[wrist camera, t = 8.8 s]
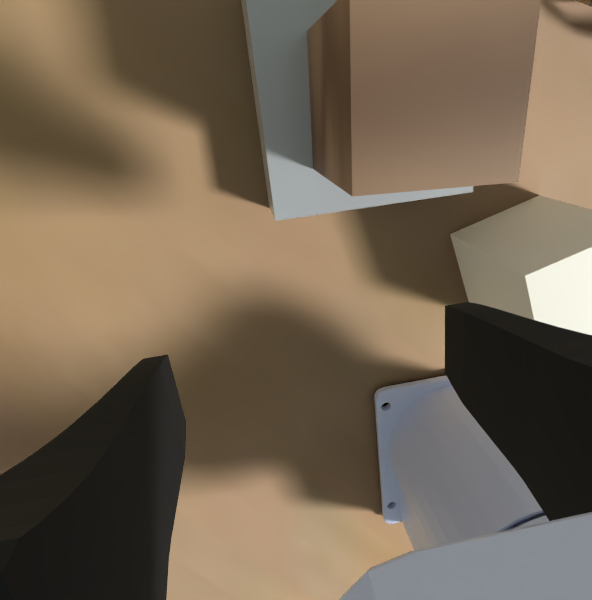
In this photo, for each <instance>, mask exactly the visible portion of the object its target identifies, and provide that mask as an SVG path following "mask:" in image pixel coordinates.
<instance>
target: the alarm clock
mask: <svg viewBox="0 0 592 600" xmlns="http://www.w3.org/2000/svg"><path fill="white" fill-rule="evenodd" d="M577 1H578V2H581V3H584V4H587V5H589V6H591V7H592V0H577Z"/></svg>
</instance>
